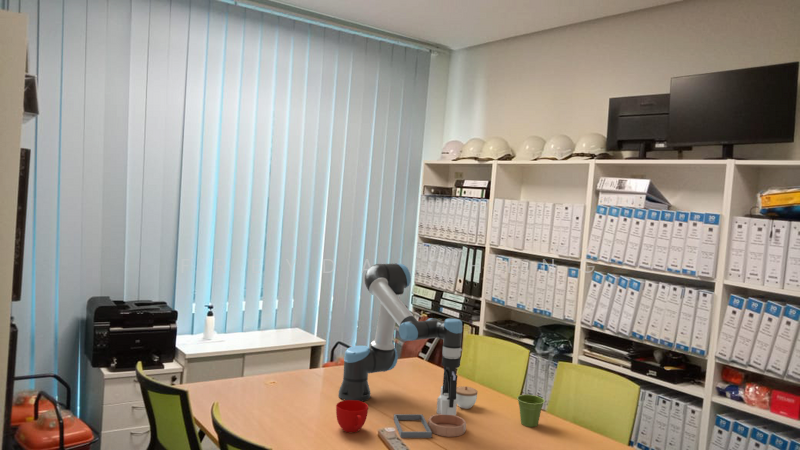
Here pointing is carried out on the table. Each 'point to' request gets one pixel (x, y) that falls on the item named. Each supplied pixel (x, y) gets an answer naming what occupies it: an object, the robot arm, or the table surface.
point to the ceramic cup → (351, 415)
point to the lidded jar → (466, 397)
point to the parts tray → (412, 434)
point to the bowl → (447, 425)
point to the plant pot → (530, 409)
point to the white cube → (444, 405)
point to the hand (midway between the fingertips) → (448, 411)
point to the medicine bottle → (439, 401)
